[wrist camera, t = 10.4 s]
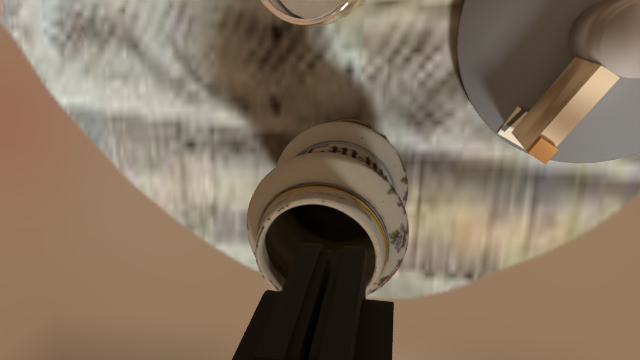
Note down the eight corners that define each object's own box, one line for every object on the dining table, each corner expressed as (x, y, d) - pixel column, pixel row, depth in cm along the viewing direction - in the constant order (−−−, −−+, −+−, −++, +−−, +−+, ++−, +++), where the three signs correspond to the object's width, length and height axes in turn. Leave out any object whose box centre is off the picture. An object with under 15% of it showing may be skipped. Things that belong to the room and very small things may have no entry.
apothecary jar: (432, 150, 42) (451, 244, 26) (365, 238, 47) (345, 364, 31) (327, 83, 41) (277, 136, 25) (270, 179, 46) (197, 276, 30)
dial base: (408, 84, 40) (408, 87, 39) (573, -187, 31) (582, -197, 29) (610, 198, 41) (619, 206, 39) (829, -33, 32) (852, -35, 30)
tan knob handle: (602, -14, 33) (644, -17, 27) (655, 22, 33) (707, 26, 28) (493, 120, 38) (509, 140, 32) (539, 150, 39) (563, 176, 33)
